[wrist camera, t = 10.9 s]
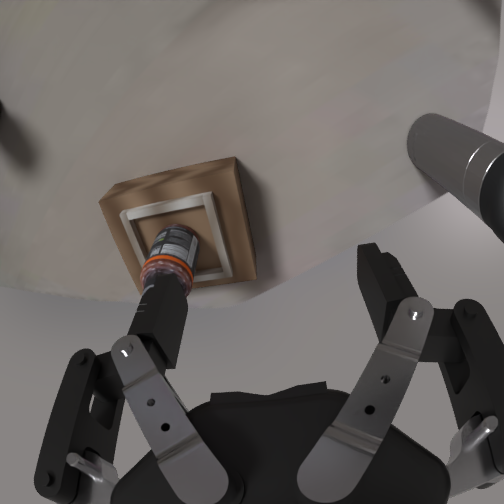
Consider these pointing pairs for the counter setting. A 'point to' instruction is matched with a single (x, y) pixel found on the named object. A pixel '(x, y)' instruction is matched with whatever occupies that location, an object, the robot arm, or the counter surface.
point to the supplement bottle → (172, 257)
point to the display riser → (186, 219)
